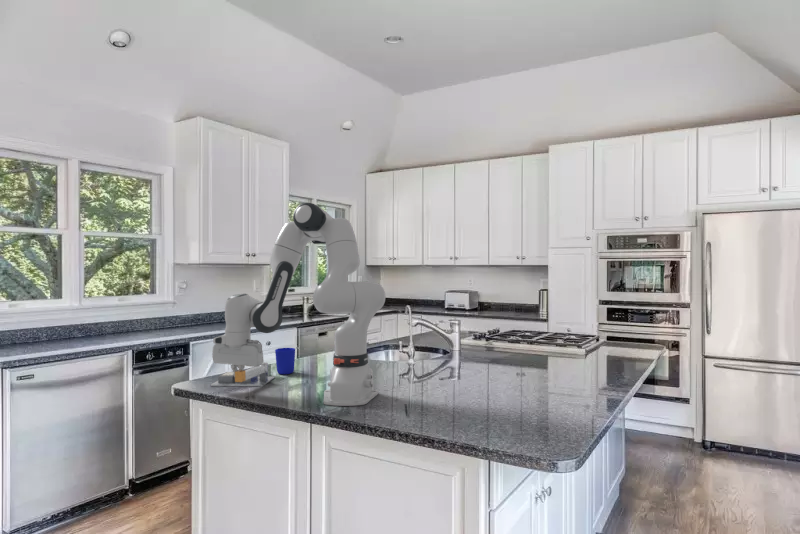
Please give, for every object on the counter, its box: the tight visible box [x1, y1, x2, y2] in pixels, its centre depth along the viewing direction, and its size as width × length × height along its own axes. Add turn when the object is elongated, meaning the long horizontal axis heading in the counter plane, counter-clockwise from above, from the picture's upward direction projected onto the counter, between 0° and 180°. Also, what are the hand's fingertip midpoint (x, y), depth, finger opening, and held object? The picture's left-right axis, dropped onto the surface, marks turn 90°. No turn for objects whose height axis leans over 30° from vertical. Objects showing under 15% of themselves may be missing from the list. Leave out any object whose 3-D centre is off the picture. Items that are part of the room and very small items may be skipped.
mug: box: [274, 347, 296, 375], centre depth 216 cm, size 8×12×10 cm
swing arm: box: [235, 362, 269, 382], centre depth 191 cm, size 3×19×4 cm, turn 166°
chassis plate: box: [210, 371, 275, 387], centre depth 199 cm, size 14×20×4 cm
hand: (237, 377), depth 186 cm, fingers closed
